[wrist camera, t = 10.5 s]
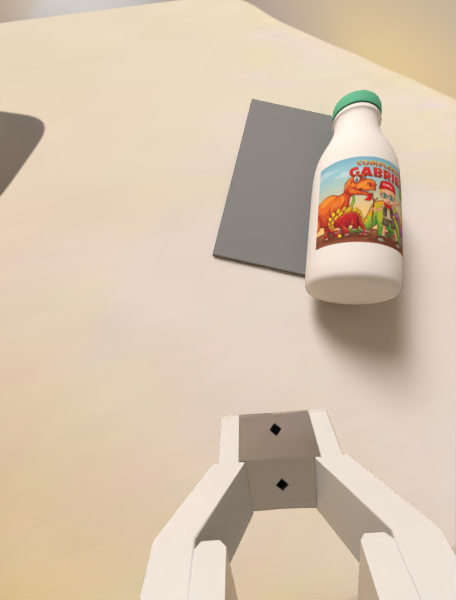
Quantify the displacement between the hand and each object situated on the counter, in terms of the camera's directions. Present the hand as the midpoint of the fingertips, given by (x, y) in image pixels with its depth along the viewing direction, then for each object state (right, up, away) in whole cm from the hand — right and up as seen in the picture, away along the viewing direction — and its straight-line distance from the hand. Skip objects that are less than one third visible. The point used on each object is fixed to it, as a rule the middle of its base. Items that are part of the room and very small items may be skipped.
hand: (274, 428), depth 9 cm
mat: (+6, +16, +24) cm, 30 cm away
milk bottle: (+9, +4, +17) cm, 19 cm away
